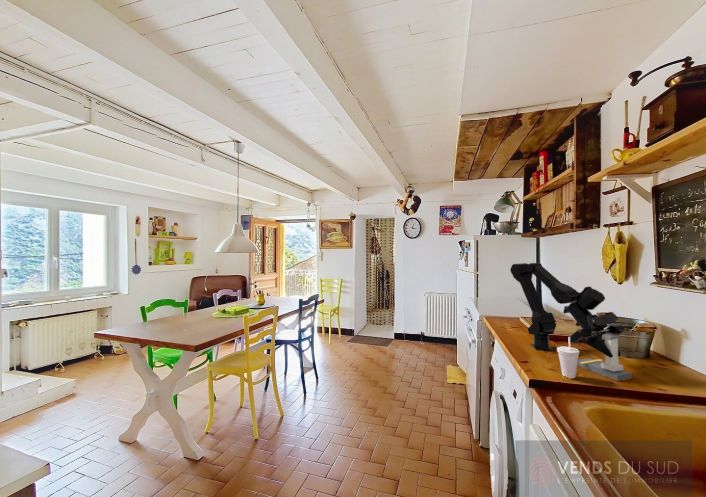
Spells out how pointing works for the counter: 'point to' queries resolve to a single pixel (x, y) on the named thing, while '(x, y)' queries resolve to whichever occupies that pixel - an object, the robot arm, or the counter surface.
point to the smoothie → (568, 360)
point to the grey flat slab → (603, 369)
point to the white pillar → (612, 345)
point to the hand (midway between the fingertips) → (615, 356)
